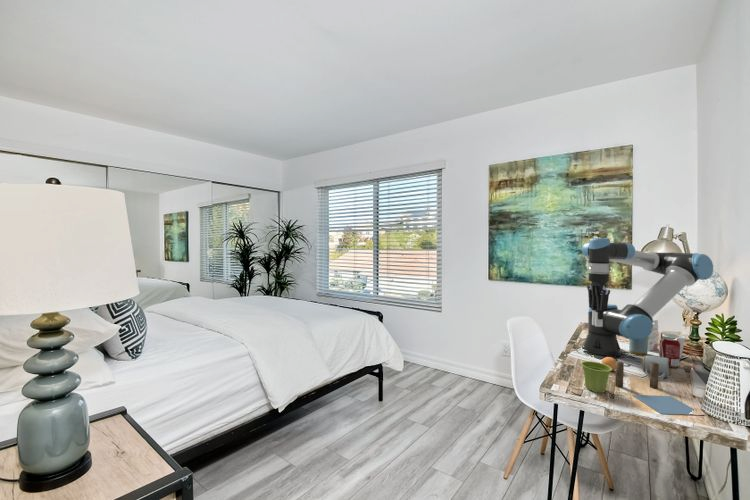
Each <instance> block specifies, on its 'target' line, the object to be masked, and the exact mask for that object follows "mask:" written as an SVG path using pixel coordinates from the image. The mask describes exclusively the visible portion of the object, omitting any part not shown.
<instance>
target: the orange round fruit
mask: <svg viewBox="0 0 750 500" xmlns="http://www.w3.org/2000/svg"><path fill="white" fill-rule="evenodd" d="M616 361H617V360H616V359H615V358H614V357H612V356H606V357H603V359H602V360H601V363H602V364H605V365H608V366H609V367H611V368H612V371H611V372H613V371H616Z"/></svg>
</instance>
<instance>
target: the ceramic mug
mask: <svg viewBox="0 0 750 500" xmlns="http://www.w3.org/2000/svg"><path fill="white" fill-rule="evenodd" d="M650 362H655V363H658V364H659V373H658V381H659V380H663V379H664V378H667V379H668V378H669V377H670V376H669V375H670V372H669V371H670V367H669V359H668V358H665V357H659V356H655V355H643V357H642V372H643V373H645V374H646V377H647V378H649V379H650Z"/></svg>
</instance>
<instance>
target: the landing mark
mask: <svg viewBox="0 0 750 500" xmlns="http://www.w3.org/2000/svg"><path fill="white" fill-rule="evenodd" d="M632 397H634V398H636V399H637V400H639V401H640V402H642V403H644V404H645V405H647V406H648V407H650V408H651V409H653V410H654V411H655V412H657V413H659V414H660V415H673V416H674V415H675V416H677V415H676V414H685V415H684V416H691V415H690V414H689V413H690V412H692V410H693V411H694V409H695V408H693V407H691V406H689V404H687V403H684V402H682V401H681V400H678V399H677V398H675V397H674V396H672V395H654V394H653V395H652V394H649V395H648V394H632ZM687 414H689V415H687Z"/></svg>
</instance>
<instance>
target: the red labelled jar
mask: <svg viewBox="0 0 750 500" xmlns="http://www.w3.org/2000/svg"><path fill="white" fill-rule="evenodd" d="M658 352H659V353H658V357H665V358H668V359H669V368H677V367H680V362H681V361H680V360H681V359H680V343H679V342H678V339H677V338H673V337H663V336H661V339H660V340H659V351H658Z"/></svg>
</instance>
